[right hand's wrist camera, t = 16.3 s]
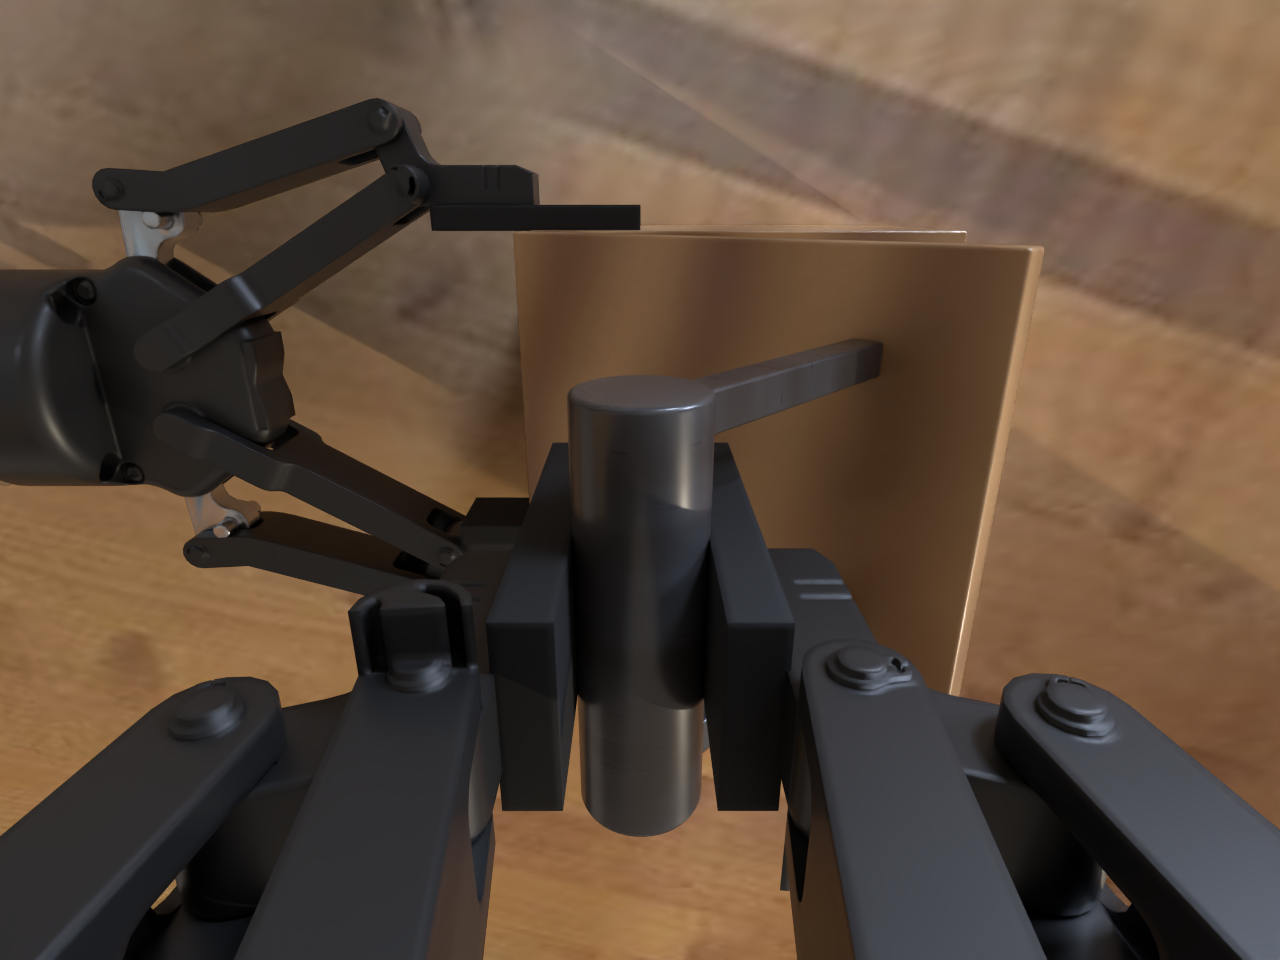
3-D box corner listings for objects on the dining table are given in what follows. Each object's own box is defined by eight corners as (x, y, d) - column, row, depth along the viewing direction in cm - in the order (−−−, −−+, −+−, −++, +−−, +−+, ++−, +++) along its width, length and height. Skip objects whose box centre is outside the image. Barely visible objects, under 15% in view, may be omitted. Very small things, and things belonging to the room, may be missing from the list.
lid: (1046, 245, 12) (781, 275, 6) (954, 725, 16) (731, 1018, 10) (534, 231, 21) (228, 238, 15) (549, 541, 25) (306, 642, 19)
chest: (873, 225, 30) (968, 231, 21) (848, 454, 33) (920, 540, 25) (559, 225, 30) (525, 231, 21) (568, 454, 33) (542, 539, 25)
